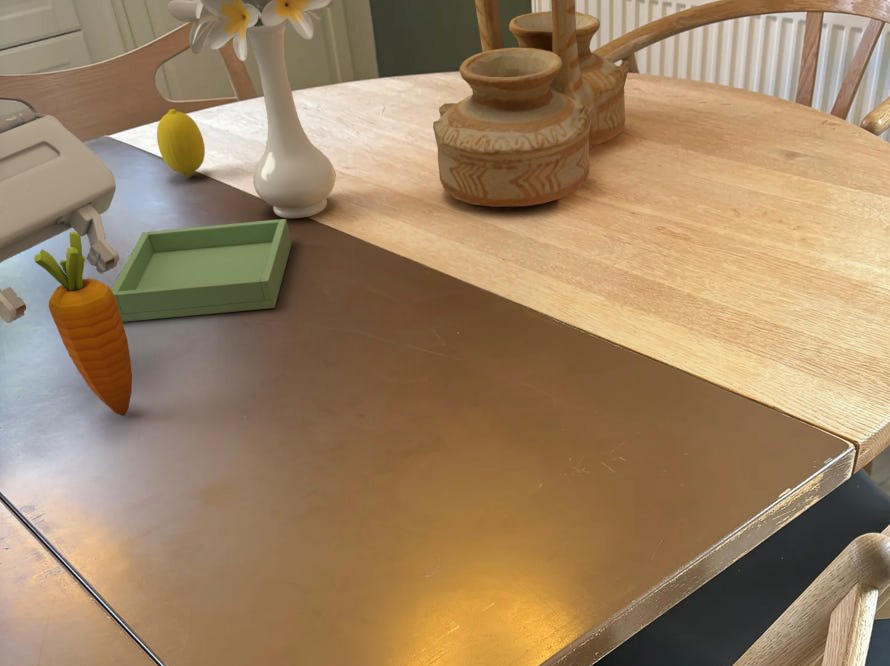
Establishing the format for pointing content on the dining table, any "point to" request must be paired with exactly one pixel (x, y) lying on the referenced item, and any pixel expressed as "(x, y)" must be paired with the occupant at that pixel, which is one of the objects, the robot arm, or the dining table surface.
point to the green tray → (203, 270)
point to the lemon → (180, 142)
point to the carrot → (90, 327)
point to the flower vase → (269, 93)
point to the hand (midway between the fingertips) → (66, 290)
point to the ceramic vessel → (529, 109)
